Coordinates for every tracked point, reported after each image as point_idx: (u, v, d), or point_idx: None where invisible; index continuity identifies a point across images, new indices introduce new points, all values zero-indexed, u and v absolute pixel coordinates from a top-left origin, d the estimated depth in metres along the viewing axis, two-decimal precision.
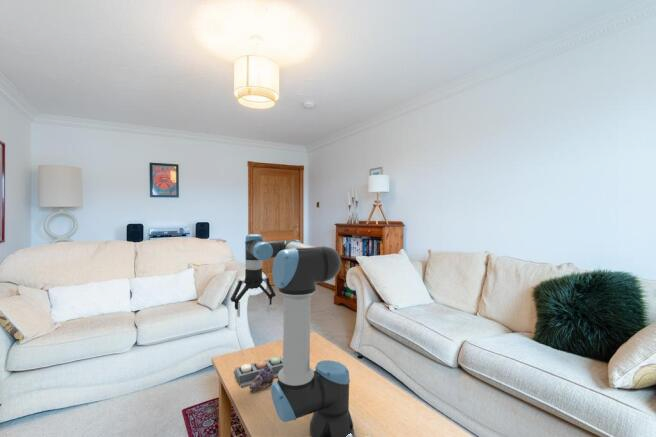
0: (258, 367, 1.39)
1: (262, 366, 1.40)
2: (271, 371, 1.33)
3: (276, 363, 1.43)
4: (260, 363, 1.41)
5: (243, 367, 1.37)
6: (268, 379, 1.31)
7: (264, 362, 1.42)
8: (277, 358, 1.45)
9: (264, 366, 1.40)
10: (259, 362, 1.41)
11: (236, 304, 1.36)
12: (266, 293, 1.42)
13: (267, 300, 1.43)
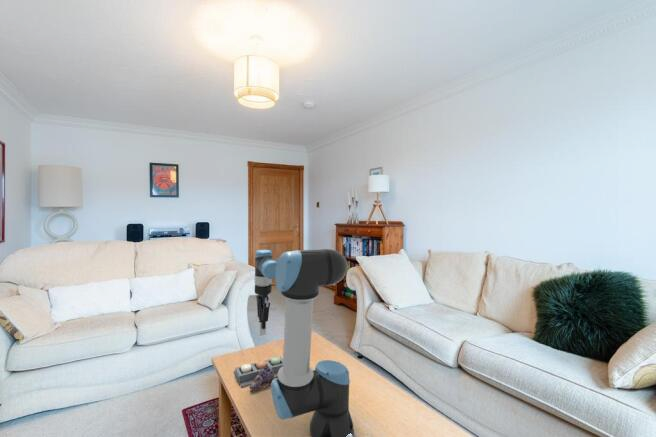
0: (258, 367, 1.39)
1: (262, 366, 1.40)
2: (271, 371, 1.33)
3: (276, 363, 1.43)
4: (260, 363, 1.41)
5: (243, 367, 1.37)
6: (268, 379, 1.31)
7: (264, 362, 1.42)
8: (277, 358, 1.45)
9: (264, 366, 1.40)
10: (259, 362, 1.41)
11: None
12: (260, 314, 1.38)
13: None
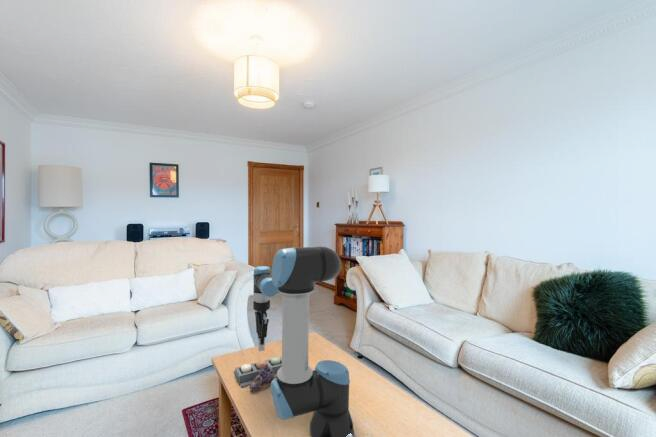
0: (258, 367, 1.39)
1: (262, 366, 1.40)
2: (271, 371, 1.33)
3: (276, 363, 1.43)
4: (260, 363, 1.41)
5: (243, 367, 1.37)
6: (268, 379, 1.31)
7: (264, 362, 1.42)
8: (277, 358, 1.45)
9: (264, 366, 1.40)
10: (259, 362, 1.41)
11: None
12: (259, 330, 1.39)
13: None
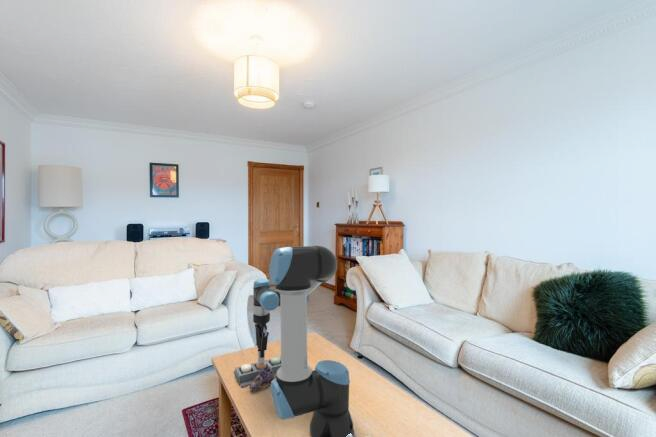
0: (258, 368, 1.39)
1: (262, 367, 1.40)
2: (271, 371, 1.33)
3: (276, 363, 1.43)
4: (260, 364, 1.41)
5: (243, 367, 1.37)
6: (268, 379, 1.31)
7: (264, 363, 1.42)
8: (277, 358, 1.45)
9: (264, 367, 1.40)
10: None
11: None
12: (259, 343, 1.40)
13: None
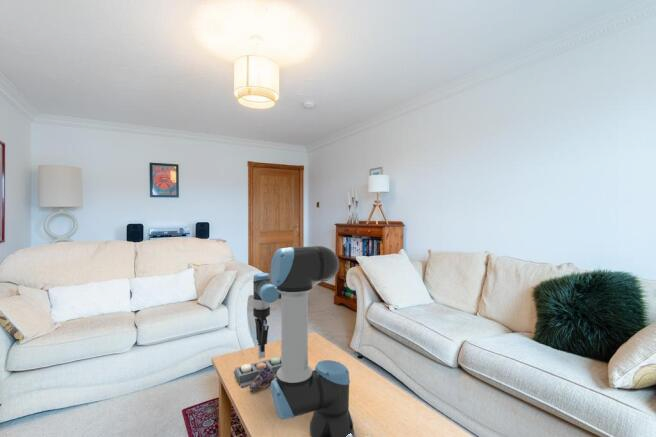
0: (258, 369, 1.39)
1: None
2: (271, 371, 1.33)
3: (276, 363, 1.43)
4: (260, 365, 1.41)
5: (243, 367, 1.37)
6: (268, 379, 1.31)
7: (264, 364, 1.42)
8: (277, 358, 1.45)
9: None
10: (259, 364, 1.41)
11: None
12: (259, 337, 1.39)
13: None
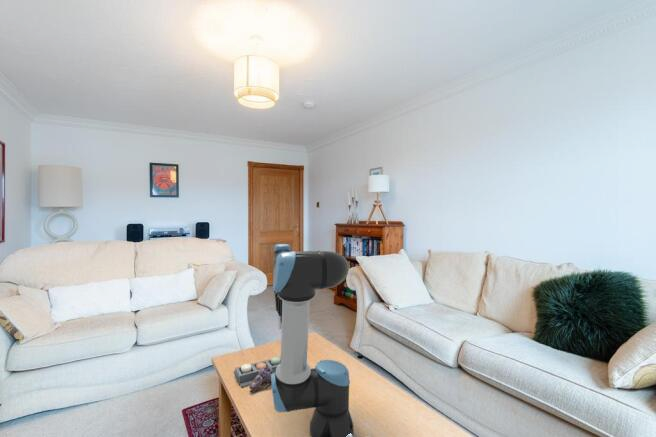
0: (258, 369, 1.39)
1: None
2: (271, 371, 1.33)
3: (276, 363, 1.43)
4: (260, 365, 1.41)
5: (243, 367, 1.37)
6: (268, 379, 1.31)
7: (264, 364, 1.42)
8: (277, 358, 1.45)
9: None
10: (259, 364, 1.41)
11: None
12: (280, 308, 1.40)
13: None
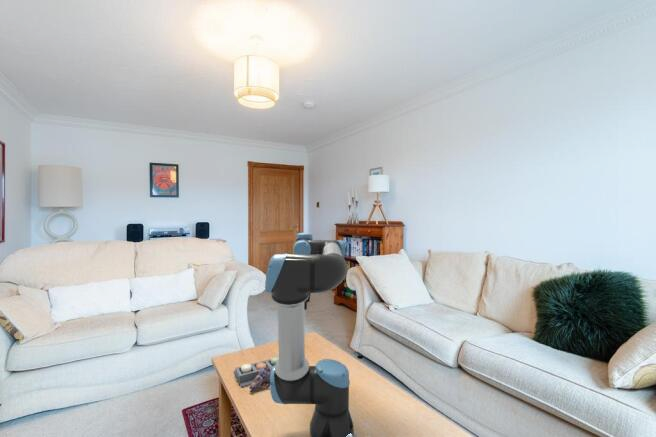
0: (258, 369, 1.39)
1: None
2: None
3: None
4: (260, 365, 1.41)
5: (243, 367, 1.37)
6: (268, 379, 1.31)
7: (264, 364, 1.42)
8: (277, 358, 1.45)
9: None
10: (259, 364, 1.41)
11: None
12: None
13: None
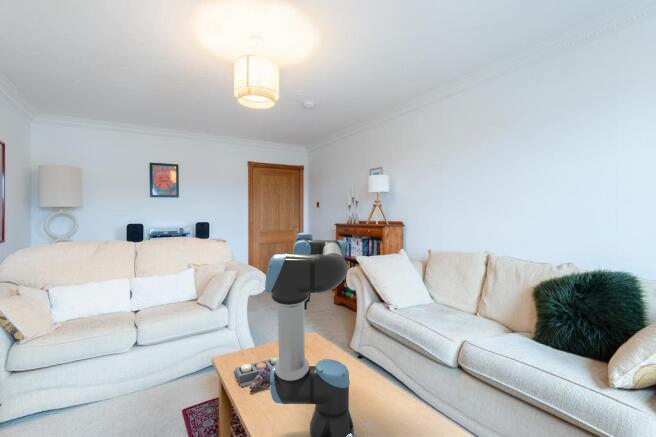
0: (258, 369, 1.39)
1: None
2: None
3: None
4: (260, 365, 1.41)
5: (243, 367, 1.37)
6: (268, 379, 1.31)
7: (264, 364, 1.42)
8: (277, 358, 1.45)
9: None
10: (259, 364, 1.41)
11: None
12: None
13: None
